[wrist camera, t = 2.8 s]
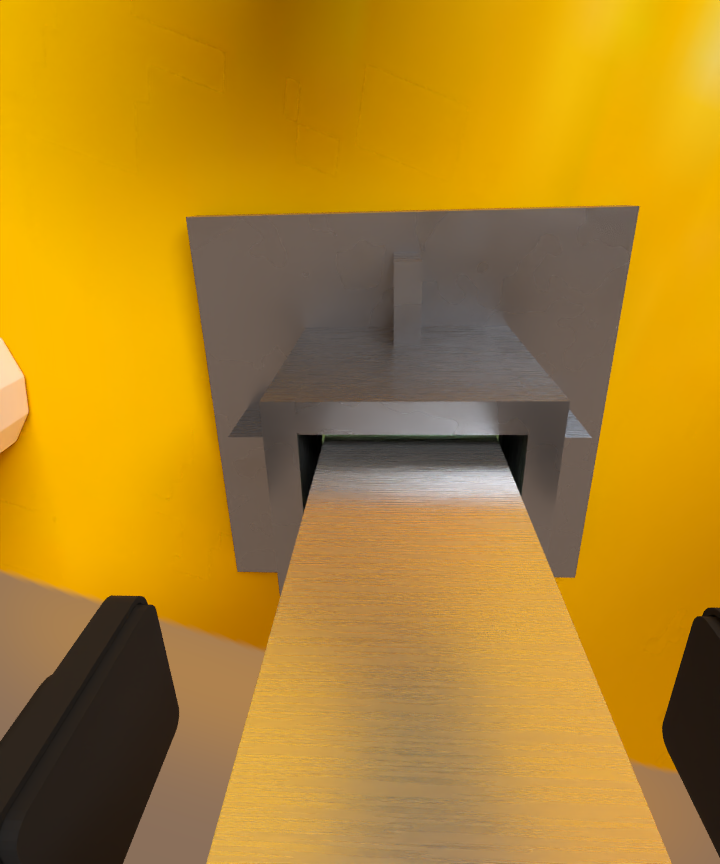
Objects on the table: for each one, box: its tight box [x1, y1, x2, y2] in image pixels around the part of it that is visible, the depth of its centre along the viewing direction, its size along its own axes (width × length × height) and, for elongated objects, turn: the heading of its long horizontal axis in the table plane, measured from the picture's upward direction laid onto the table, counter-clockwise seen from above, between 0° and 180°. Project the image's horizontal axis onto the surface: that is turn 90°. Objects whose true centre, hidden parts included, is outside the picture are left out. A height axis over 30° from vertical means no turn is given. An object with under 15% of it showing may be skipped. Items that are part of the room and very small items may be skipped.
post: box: [206, 435, 672, 864], centre depth 12 cm, size 5×5×16 cm
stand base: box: [186, 205, 639, 597], centre depth 17 cm, size 14×14×8 cm
